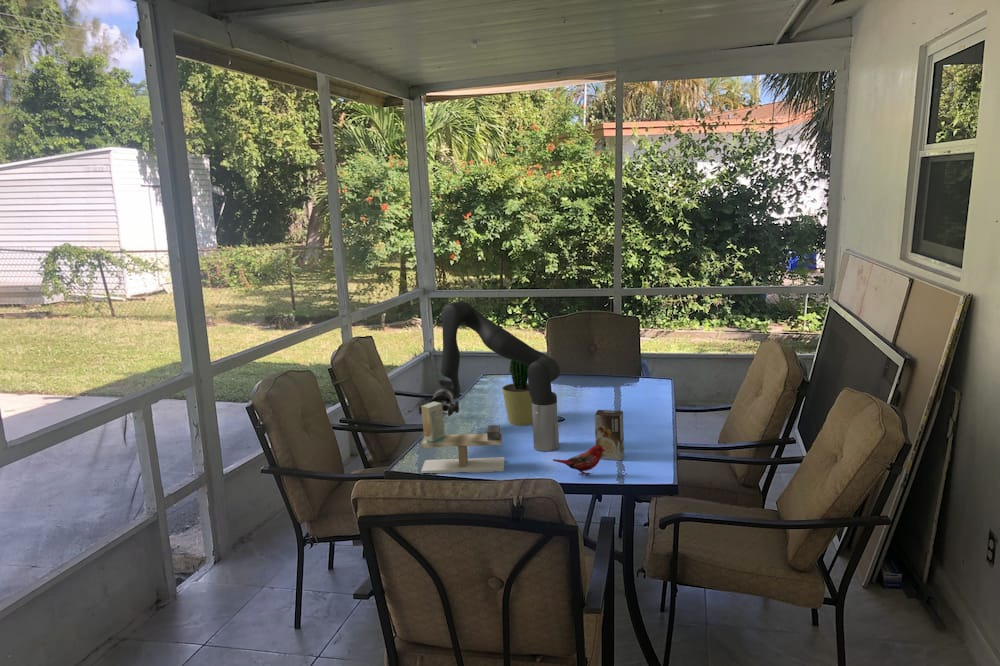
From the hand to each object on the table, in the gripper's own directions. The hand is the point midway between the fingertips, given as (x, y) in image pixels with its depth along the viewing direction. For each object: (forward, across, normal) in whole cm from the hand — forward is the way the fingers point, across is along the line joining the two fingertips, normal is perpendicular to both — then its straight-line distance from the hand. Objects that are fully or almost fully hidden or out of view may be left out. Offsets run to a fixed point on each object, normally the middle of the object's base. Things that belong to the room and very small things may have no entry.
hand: (436, 413), depth 235 cm
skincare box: (+6, -1, +7) cm, 9 cm away
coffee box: (+2, +60, +18) cm, 63 cm away
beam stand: (+6, +9, +18) cm, 21 cm away
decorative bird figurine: (+18, +48, +18) cm, 54 cm away
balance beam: (+6, +9, +9) cm, 14 cm away
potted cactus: (-43, +29, +18) cm, 55 cm away
